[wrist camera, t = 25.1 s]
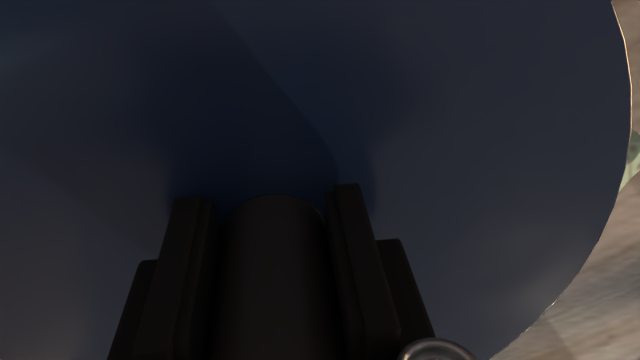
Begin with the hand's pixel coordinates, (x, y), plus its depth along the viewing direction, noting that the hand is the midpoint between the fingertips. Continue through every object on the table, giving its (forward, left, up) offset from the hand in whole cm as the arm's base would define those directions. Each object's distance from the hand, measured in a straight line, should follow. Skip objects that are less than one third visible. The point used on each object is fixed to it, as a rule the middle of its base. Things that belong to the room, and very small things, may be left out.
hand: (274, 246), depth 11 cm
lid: (0, 0, -1) cm, 1 cm away
